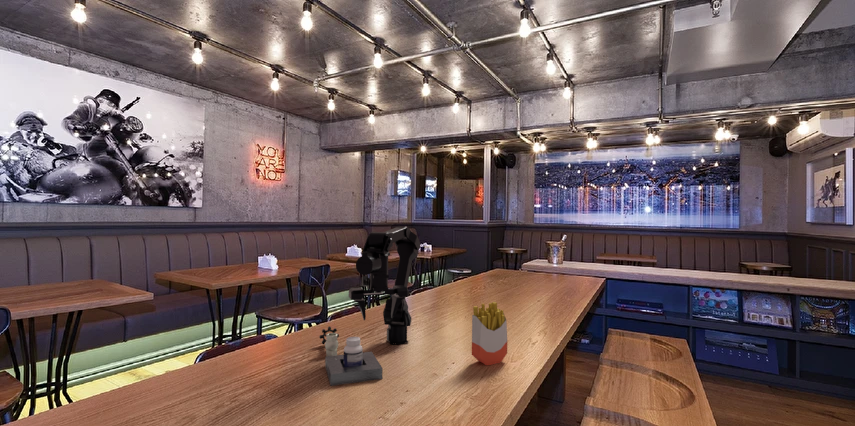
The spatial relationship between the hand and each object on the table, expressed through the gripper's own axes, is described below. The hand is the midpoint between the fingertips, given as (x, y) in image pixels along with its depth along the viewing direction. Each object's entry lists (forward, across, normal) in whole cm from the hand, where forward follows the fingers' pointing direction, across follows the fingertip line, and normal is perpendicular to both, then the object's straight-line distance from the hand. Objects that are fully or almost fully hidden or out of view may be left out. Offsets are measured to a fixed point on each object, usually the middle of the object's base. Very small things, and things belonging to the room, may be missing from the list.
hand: (378, 319), depth 125 cm
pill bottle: (+12, +10, +11) cm, 19 cm away
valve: (+12, +14, -10) cm, 21 cm away
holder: (+12, +10, +11) cm, 19 cm away
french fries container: (+12, -32, +16) cm, 38 cm away
